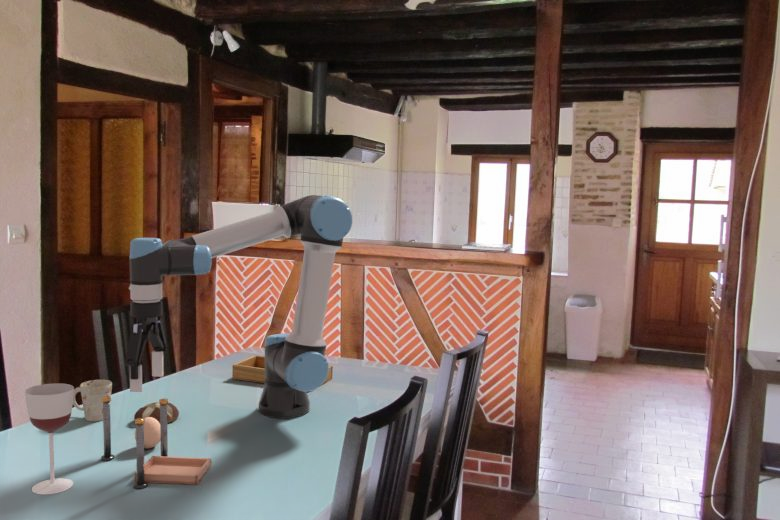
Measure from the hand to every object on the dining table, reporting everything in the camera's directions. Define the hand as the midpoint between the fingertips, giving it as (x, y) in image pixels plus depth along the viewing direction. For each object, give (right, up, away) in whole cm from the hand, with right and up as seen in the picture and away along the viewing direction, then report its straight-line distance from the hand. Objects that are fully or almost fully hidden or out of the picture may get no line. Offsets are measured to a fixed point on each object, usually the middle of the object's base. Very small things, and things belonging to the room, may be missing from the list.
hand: (147, 383), depth 175 cm
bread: (-5, -15, +22) cm, 27 cm away
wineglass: (-13, -19, -21) cm, 32 cm away
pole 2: (+6, -19, -20) cm, 29 cm away
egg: (0, -17, +2) cm, 17 cm away
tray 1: (+11, -19, -14) cm, 26 cm away
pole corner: (+6, -18, -7) cm, 20 cm away
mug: (-24, -14, +23) cm, 36 cm away
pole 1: (-8, -17, -6) cm, 20 cm away
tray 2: (+24, -11, +65) cm, 70 cm away
